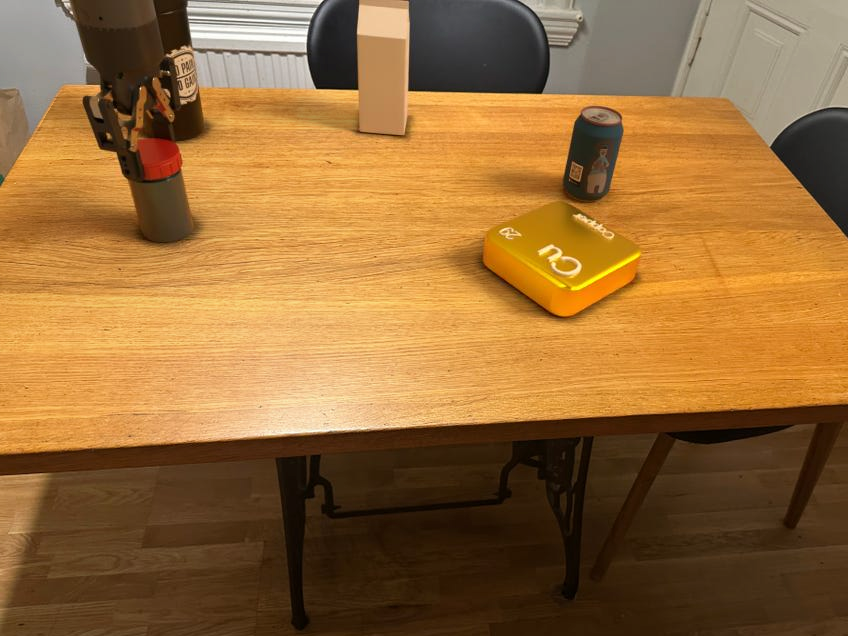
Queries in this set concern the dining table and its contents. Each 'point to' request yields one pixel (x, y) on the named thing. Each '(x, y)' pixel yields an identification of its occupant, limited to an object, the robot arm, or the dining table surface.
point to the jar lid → (159, 157)
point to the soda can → (593, 153)
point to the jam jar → (162, 208)
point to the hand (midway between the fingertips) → (152, 164)
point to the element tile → (561, 257)
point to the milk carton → (383, 65)
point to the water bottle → (179, 68)
